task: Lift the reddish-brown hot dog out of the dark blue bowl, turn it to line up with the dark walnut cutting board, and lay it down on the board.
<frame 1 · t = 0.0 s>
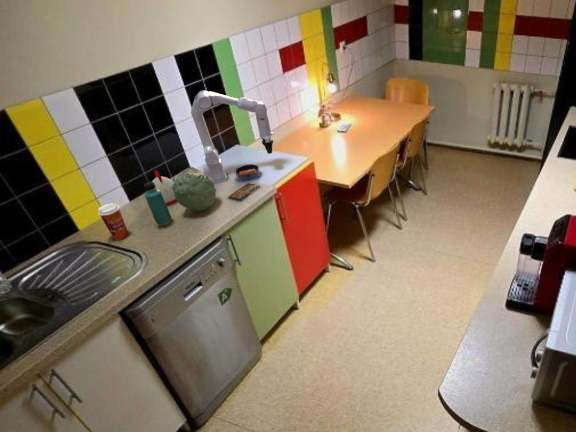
hand: (269, 150, 218), 10 cm above the table, tool pointing down, fingers open, 7 cm apart
hot dog: (248, 175, 216), point 1 cm above the table, touching dark blue bowl
cabbage: (201, 209, 191), on the table
paper cup: (121, 236, 176), on the table
dark blue bowl: (248, 176, 216), on the table
board: (244, 192, 202), on the table
beverage bottle: (165, 224, 182), on the table
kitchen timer: (167, 199, 201), on the table
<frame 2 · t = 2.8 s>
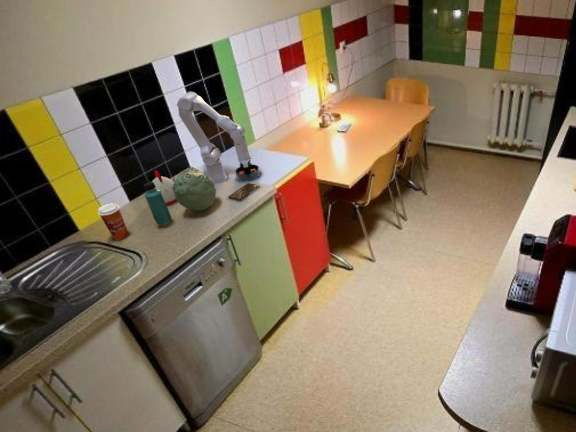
hand: (248, 174, 216), 1 cm above the table, tool pointing down, fingers closed on hot dog, 3 cm apart
hot dog: (248, 175, 216), point 1 cm above the table, touching gripper, dark blue bowl
everything else where it was.
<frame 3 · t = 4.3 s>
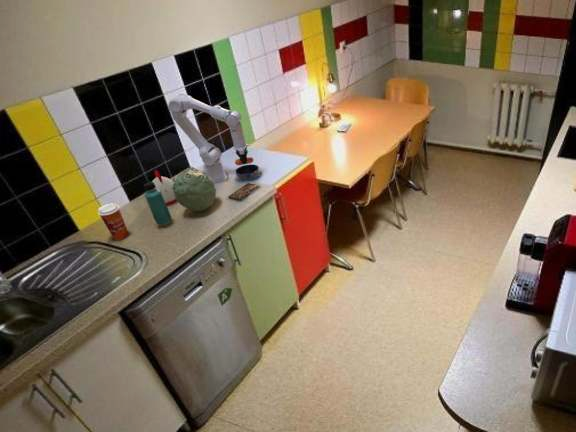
hand: (244, 162, 211), 9 cm above the table, tool pointing down, fingers closed on hot dog, 3 cm apart
hot dog: (244, 163, 211), point 8 cm above the table, touching gripper
everything else where it was.
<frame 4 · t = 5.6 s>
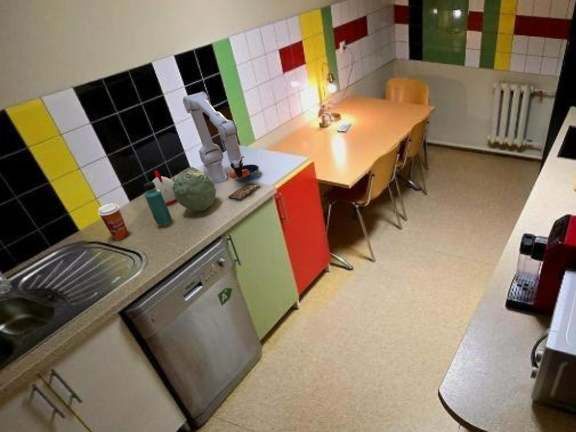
hand: (239, 175, 197), 9 cm above the table, tool pointing down, fingers closed on hot dog, 3 cm apart
hot dog: (240, 176, 197), point 9 cm above the table, touching gripper
everything else where it was.
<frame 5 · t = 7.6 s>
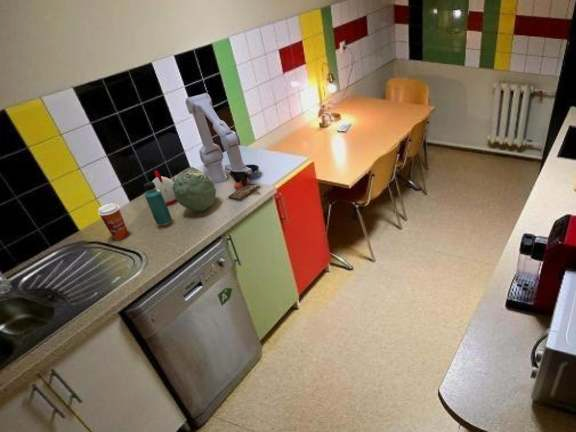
hand: (242, 184, 200), 4 cm above the table, tool pointing down, fingers closed on hot dog, 3 cm apart
hot dog: (242, 186, 200), point 4 cm above the table, touching gripper
everything else where it was.
when the fingers open (2 cm above the table, at t = 8.7 s): hot dog stays where it is, resting on board.
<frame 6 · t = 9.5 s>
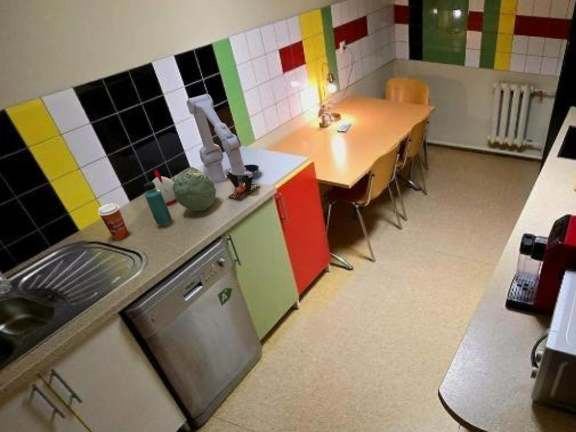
hand: (243, 188, 201), 3 cm above the table, tool pointing down, fingers open, 7 cm apart
hot dog: (243, 190, 201), point 1 cm above the table, touching board
everything else where it was.
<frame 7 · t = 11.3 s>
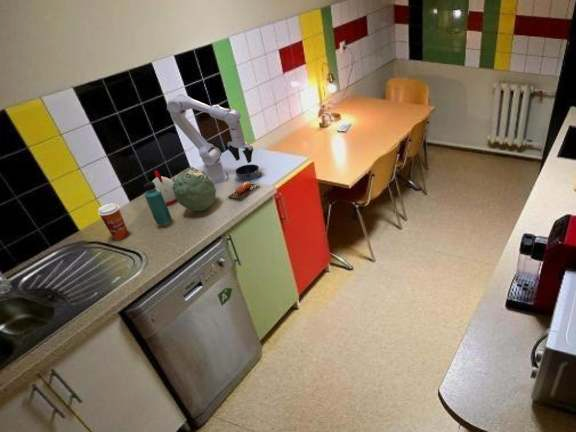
hand: (243, 161, 211), 9 cm above the table, tool pointing down, fingers open, 7 cm apart
nothing on the table moved.
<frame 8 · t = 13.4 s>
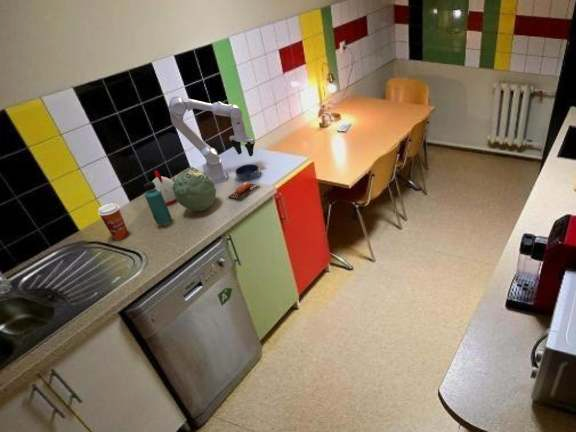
hand: (245, 154, 217), 9 cm above the table, tool pointing down, fingers open, 7 cm apart
nothing on the table moved.
at the end: hot dog inside the target area on the board (0.1 cm from its centre), point 1.2 cm above the board's base; the gripper is holding nothing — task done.
